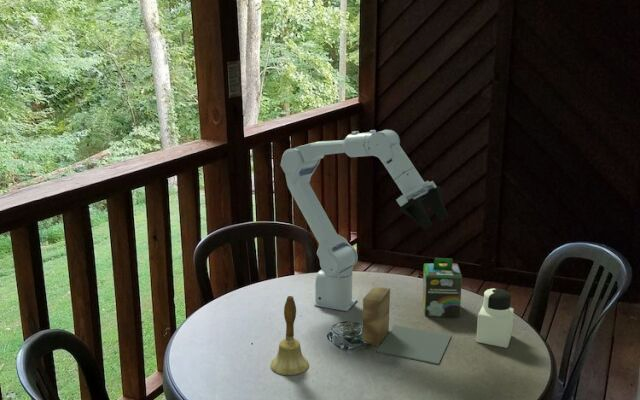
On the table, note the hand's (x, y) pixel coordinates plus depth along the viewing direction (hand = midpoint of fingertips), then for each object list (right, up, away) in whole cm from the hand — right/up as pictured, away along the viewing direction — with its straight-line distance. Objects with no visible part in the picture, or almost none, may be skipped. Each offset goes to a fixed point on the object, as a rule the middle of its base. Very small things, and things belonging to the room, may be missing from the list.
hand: (436, 222), depth 137 cm
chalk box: (+4, -24, +18) cm, 30 cm away
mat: (-5, -28, 0) cm, 29 cm away
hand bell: (-34, -31, -10) cm, 47 cm away
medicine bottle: (+14, -28, +2) cm, 31 cm away
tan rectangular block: (-14, -27, +3) cm, 31 cm away
